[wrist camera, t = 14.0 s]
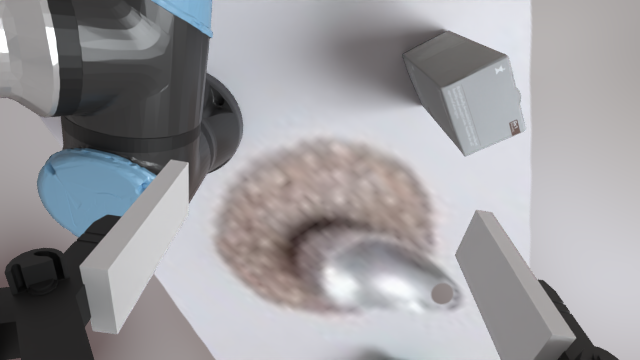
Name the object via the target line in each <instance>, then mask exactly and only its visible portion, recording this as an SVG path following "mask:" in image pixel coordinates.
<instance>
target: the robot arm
mask: <svg viewBox="0 0 640 360" xmlns="http://www.w3.org/2000/svg"><path fill="white" fill-rule="evenodd" d="M211 12H212V0H0V98H9V99H13V100H15V101H17V102H19V103H20V104H22V105H23V106H25V107H27V108H28V109H30V110H31V111H33V112H35V113H36V114H38V115H39V116H41V117H56V116H61V124H62V134H63V149H62V151H60V152H57V153H55V154H53V155H51V156H50V158H49V159H48V160H47V161H46V163H45V165H44V166H43V167H42V169H41V170H40V173H39V176H38V180H37V187H38V193H39V196H40V199H41V201H42V203H43V205H44V207H45V208H46V210H47V211H48V212H49V214H50V215H51V216H52V217H53V218H54V219H55V220H56V221H57V222H58V223H59V224H60V225H61V226H62V227H64V228H66V229H68V230H69V231H71V232H72V233H73V234H74V235H75V236H77V237H79V238H78V239H77V241H76V242H74V243H73V244H72V245H71V246H70V247H69V248H68V249H67V250H66V252H65V253H64V254H63V253H62V252H61V251H59V250H57V249H52V248H41V249H34V250H31V251H28V252H25V253H22V254H20V255H19V256H17V257H16V258H14V259H12V260H11V262H10V263H9V264H8V265H7V266H6V270H5V275H6V278H7V281H8V284H9V286H10V287H5V288H0V360H9V359H16V358H21V360H94V357H93V354H92V351H91V347H90V344H89V340H88V337H87V334H86V330H85V326H86V324H87V323H88V322H89V320H91V325H92V330H93V331H97V332H105V333H112V334H118V333H119V331H120V329H121V327H122V326H123V324H124V322H125V321H126V319H127V317H128V316H129V314H130V312H131V311H132V308H133V307H134V305H135V304H136V302H137V300H138V299H139V297H140V295H141V294H142V292H143V290H144V289H145V287H146V285H147V283H148V282H149V280H150V278H151V277H152V275H153V273H154V272H155V270H156V268H157V267H158V265H159V263H160V261H161V260H162V258H163V256H164V255H165V253H166V251H167V250H168V248H169V246H170V244H171V243H172V241H173V239H174V238H175V236H176V234H177V233H178V231H179V229H180V228H181V226H182V224H183V222H184V221H185V219H186V217H187V216H188V214H189V203H190V201H191V199H192V198H193V196H194V195H195V193H196V191H197V190H198V188H199V186H200V185H201V183H202V181H203V180H204V178H205V176H206V174H208V173H211V172H213V171H216V170H218V169H219V168H221V167H222V166H224V165H225V164H226V163H227V162H228V161H229V160H230V159H231V158H232V156H233V155H234V153H235V152H236V150H237V148H238V146H239V144H240V141H241V138H242V133H243V120H242V115H241V111H240V109H239V106H238V104H237V102H236V100H235V98H234V97H233V95H232V94H231V93H230V91H229V90H228V89H227V88H226V87H225V86H224V85H223V84H222V83H221V82H220V81H218V80H217V79H216V78H214V77H213V76H211V75H209V74H207V73H206V71H207V60H208V50H209V39H210V38H212V37H213V32H212V31H211ZM455 256H456V259H457V261H458V263H459V265H460V268H461V270H462V272H463V274H464V277H465V279H466V281H467V284H468V286H469V288H470V290H471V293H472V295H473V297H474V300H475V302H476V304H477V306H478V309H479V311H480V313H481V315H482V318H483V320H484V322H485V325H486V327H487V329H488V331H489V334H490V336H491V338H492V340H493V343H494V345H495V347H496V350H497V352H498V354H499V356H500V359H501V360H618V358H616V357H615V356H613V355H612V354H611V353H609V352H608V351H606V350H604V349H602V348H599V347H595V346H594V345H593V344H592V342H591V341H590V340H589V338H588V337H587V335H586V334H585V333H584V331H583V330H582V328H581V327H580V325H579V324H578V322H577V321H576V320H575V318H574V317H573V315H572V314H570V311H569V310H568V308H567V307H566V305H564V304H563V301H562V300H561V298H560V297H559V296H558V294H557V293H556V291H555V290H554V289H552V288H551V287H550V286H549V285H548V284H547V283H546V282H545V281H543V280H537V278H536V277H535V276H534V274H533V273H532V271H531V270H530V268H529V267H528V265H527V264H526V262H525V261H524V259H523V258H522V256H521V255H520V253H519V252H518V250H517V249H516V247H515V246H514V244H513V243H512V241H511V240H510V238H509V237H508V235H507V234H506V232H505V231H504V229H503V228H502V226H501V225H500V223H499V222H498V220H497V219H496V217H495V216H494V214H493V213H492V212H486V211H480V210H476V211H475V214H474V216H473V218H472V220H471V222H470V224H469V226H468V228H467V231H466V233H465V235H464V237H463V239H462V241H461V243H460V245H459V248H458V250H457V252H456V254H455Z"/></svg>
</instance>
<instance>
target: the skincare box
mask: <svg viewBox="0 0 640 360" xmlns="http://www.w3.org/2000/svg"><path fill="white" fill-rule="evenodd" d="M402 56H403V59H404V62H405V64H406V67H407V70H408V72H409V75H410V78H411V80H412V83H413V85H414V88H415V90H416V92H417V95H418V97H419V99H420V101H421V103H422V105H423V107H424V108H425V109H426V110H427V112H428V113H429V114H430V115H431V116H432V117H433V119H434V120H435V121H436V122H437V123H438V125H439V126H440V127H441V128H442V129H443V131H444V132H445V133H446V134H447V135H448V136H449V138H450V139H451V140H452V141H453V142H454V144H455V145H456V146H457V147H458V148H459V150H460V151H461V152H462V153H463V155H464V156H465V157H466V156H468V155H470V154H473V153H475V152H477V151H479V150H482V149H484V148H486V147H489V146H491V145H494V144H496V143H498V142H501V141H503V140H505V139H508V138H510V137H512V136H515V135H517V134H519V133H522V132H524V131H526V126H525V122H524V118H523V114H522V110H521V106H520V102H521V94H520V91H519V90H518V88H516V85H515V80H514V76H513V72H512V68H511V64H510V60H509V57H508V56H507V55H506V54H503V53H500V52H498V51H496V50H493V49H491V48H489V47H486V46H484V45H481V44H479V43H477V42H474V41H472V40H470V39H467V38H465V37H463V36H460V35H458V34H456V33H453V32H451V31H446V32H444V33H442V34H440V35H439V36H437V37H435V38H433V39H431V40H429V41H427V42H425V43H423V44H421V45H419V46H417V47H415V48H414V49H412V50H410V51H408V52H406V53H404V54H403V55H402Z"/></svg>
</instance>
